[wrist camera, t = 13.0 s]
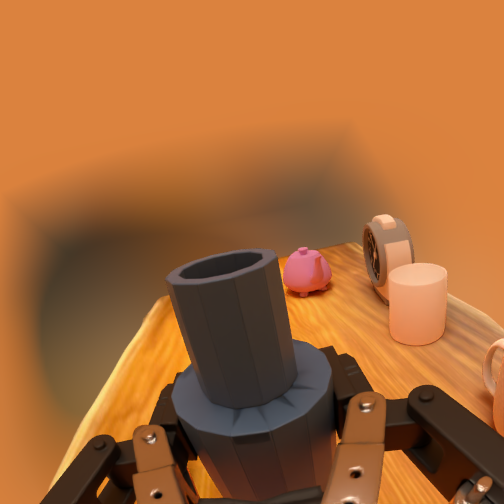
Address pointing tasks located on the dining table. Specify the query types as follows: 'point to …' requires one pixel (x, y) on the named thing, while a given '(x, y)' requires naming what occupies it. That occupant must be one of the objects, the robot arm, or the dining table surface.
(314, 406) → the bottle
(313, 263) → the teapot
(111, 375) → the dining table surface
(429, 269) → the cup
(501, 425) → the mug
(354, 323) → the dining table surface
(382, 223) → the alarm clock
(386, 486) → the dining table surface
